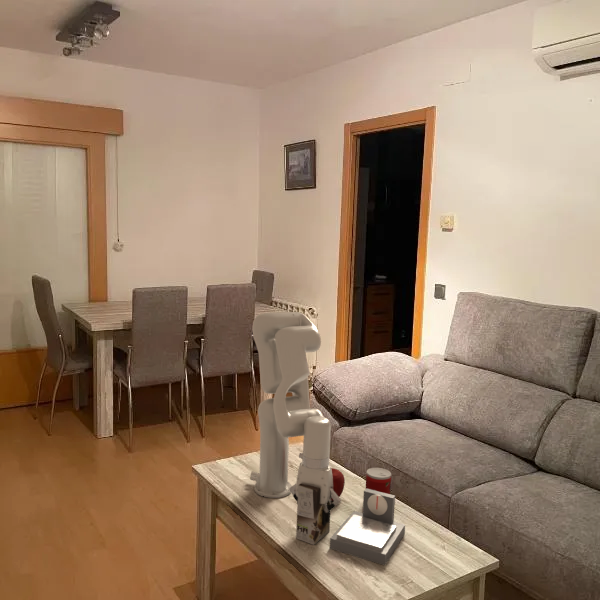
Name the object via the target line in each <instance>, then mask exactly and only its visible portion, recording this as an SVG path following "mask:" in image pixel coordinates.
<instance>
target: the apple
mask: <svg viewBox="0 0 600 600" xmlns="http://www.w3.org/2000/svg"><path fill="white" fill-rule="evenodd" d="M331 469H332V476H333V490H334V492H335V493H336V494H337V495H338V497H339V498H341V496H342V493H343V491H344V489H345V485H346V482H345V481H346V479H345V476H344V473H342V472H341V471H340V469H337V468H334V467H331ZM331 502H334V500H333V499H332V498H331Z"/></svg>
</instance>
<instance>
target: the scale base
mask: <svg viewBox="0 0 600 600" xmlns="http://www.w3.org/2000/svg"><path fill="white" fill-rule="evenodd" d="M362 499H363V502H362V512H360V511H357V510H353V511H352V512H351V514H350V515H349V516H348V517H347V518H346V519H345V521H344V522H343V523H342V524H341V525H340V526H339V528H338V529H336V531H335V532H334V533H333V534H332V535H331V537H330V538H329V549H331V550H334V551H337V552H340V553H344V554H347V555H350V556H353V557H357V558H359V559H363V560H366V561H370V562H372V563H377V564H379V565H382V566H386V564H387V563H388V561H389V560H390V558H391V557H392V555H393V554H394V551H396V548H397V547H398V546H399V544H400V542H401V540H402V539H403V537H404V536H405V534H406V524H404V523H401V522H398V521H395V505H396V495H394V494H391V493H390V494H387V493H383V492H379V491H375V490H371V489H366V488H365V489H364V490H363V498H362ZM353 515H358V516H361V517H365V518H369V519H372V520H376V521H380V522H384V523H387V524H391V525H395V526H396V530H395V532H394V533H393V535H392V536H391V538H390V539H389V541H388V542H387V544H386V545H385V547H384V548H383V550H382V551H379V550H375V549H372V548H369V547H365V546H362V545H358V544H355V543H352V542H348V541H345V540H341V539H338V538H337V534H338V533H339V531H340V530H341V529H342V528H343V527H344V526H345V524H346V523H347V522H348V521H349V520H350V519H351V517H352V516H353Z"/></svg>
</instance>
